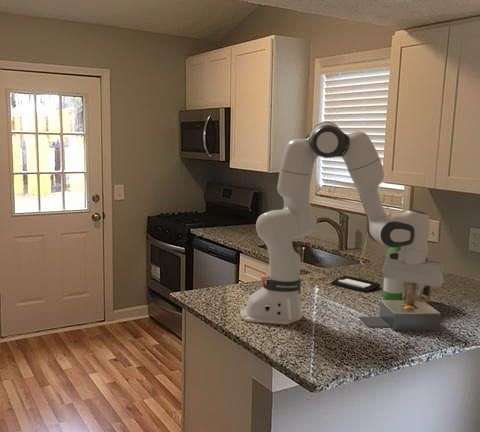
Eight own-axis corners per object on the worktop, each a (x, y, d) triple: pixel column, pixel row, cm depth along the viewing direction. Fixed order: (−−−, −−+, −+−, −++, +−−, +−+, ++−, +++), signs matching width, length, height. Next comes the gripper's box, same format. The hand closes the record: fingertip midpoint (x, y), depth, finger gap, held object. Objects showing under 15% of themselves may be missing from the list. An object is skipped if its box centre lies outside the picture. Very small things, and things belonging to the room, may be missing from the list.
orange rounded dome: (405, 314, 183) (406, 309, 182) (401, 310, 187) (401, 305, 186) (416, 314, 183) (417, 309, 183) (412, 311, 187) (412, 305, 187)
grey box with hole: (393, 330, 178) (394, 312, 177) (379, 316, 192) (380, 300, 191) (438, 330, 179) (440, 312, 178) (421, 317, 193) (423, 300, 192)
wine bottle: (380, 300, 212) (386, 227, 208) (384, 295, 219) (389, 225, 215) (400, 303, 209) (406, 229, 205) (403, 298, 216) (409, 226, 212)
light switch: (327, 280, 234) (344, 272, 244) (327, 286, 235) (344, 278, 244) (367, 290, 221) (383, 281, 230) (366, 296, 221) (383, 287, 231)
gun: (424, 299, 216) (426, 264, 213) (432, 300, 214) (434, 265, 211) (400, 318, 198) (402, 280, 194) (409, 320, 196) (410, 282, 192)
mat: (367, 327, 180) (367, 326, 180) (358, 317, 190) (359, 316, 190) (390, 327, 181) (390, 326, 181) (380, 317, 191) (380, 316, 191)
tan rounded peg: (408, 305, 182) (410, 283, 181) (403, 303, 185) (405, 281, 184) (416, 305, 183) (417, 283, 182) (411, 302, 186) (413, 280, 185)
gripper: (447, 259, 178) (443, 298, 180) (388, 250, 190) (385, 287, 192) (442, 262, 173) (438, 302, 175) (382, 253, 185) (379, 291, 187)
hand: (410, 294), depth 184 cm, fingers closed on tan rounded peg, 3 cm apart
